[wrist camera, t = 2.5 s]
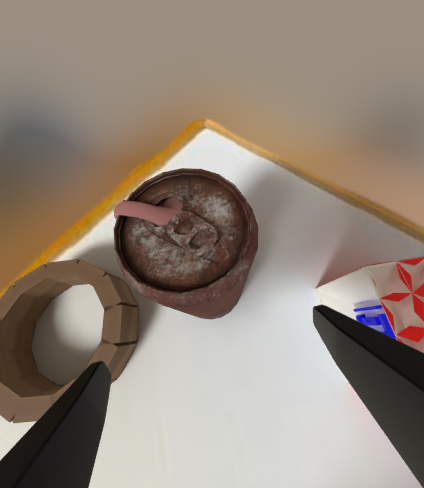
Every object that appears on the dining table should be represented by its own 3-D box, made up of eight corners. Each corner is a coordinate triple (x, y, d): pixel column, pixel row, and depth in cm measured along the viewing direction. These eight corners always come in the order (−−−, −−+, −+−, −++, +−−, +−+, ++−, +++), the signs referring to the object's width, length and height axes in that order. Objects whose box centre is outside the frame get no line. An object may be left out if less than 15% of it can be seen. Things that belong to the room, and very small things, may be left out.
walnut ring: (160, 298, 21) (147, 293, 18) (88, 434, 17) (56, 459, 14) (69, 253, 23) (44, 242, 20) (-10, 363, 20) (-57, 370, 16)
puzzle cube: (442, 367, 17) (602, 397, 10) (347, 383, 17) (436, 424, 10) (395, 274, 20) (490, 243, 13) (315, 287, 20) (363, 265, 13)
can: (183, 255, 22) (121, 157, 9) (242, 261, 22) (263, 162, 9) (172, 314, 20) (72, 291, 7) (238, 323, 19) (258, 314, 7)
